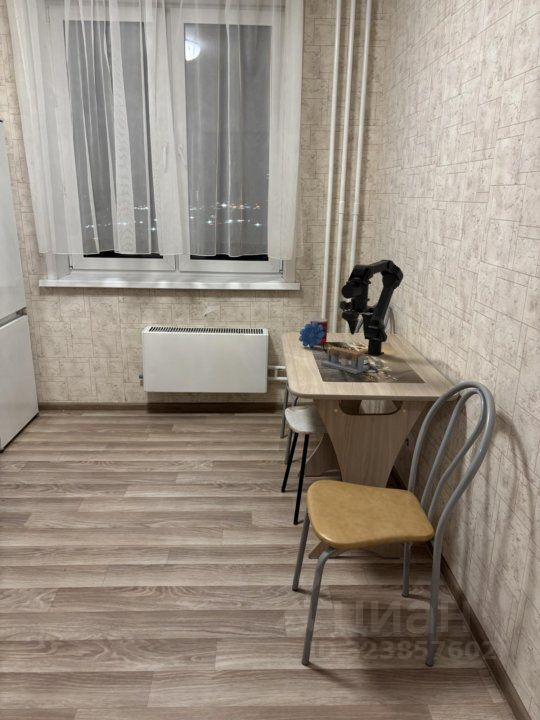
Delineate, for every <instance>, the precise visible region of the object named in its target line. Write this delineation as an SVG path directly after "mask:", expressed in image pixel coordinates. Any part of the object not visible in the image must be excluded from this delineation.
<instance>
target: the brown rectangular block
mask: <svg viewBox="0 0 540 720" xmlns="http://www.w3.org/2000/svg"><path fill="white" fill-rule="evenodd" d="M329 349H330V355H331V356H335V357H339V359H341V358H343V359H347V360H349V361H350V362H351V361H355V362H357V361H358V357H360V356H362V352H360V351H355V350H351V349H346V348H343V347H337V346H334V347H330V348H329Z"/></svg>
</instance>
